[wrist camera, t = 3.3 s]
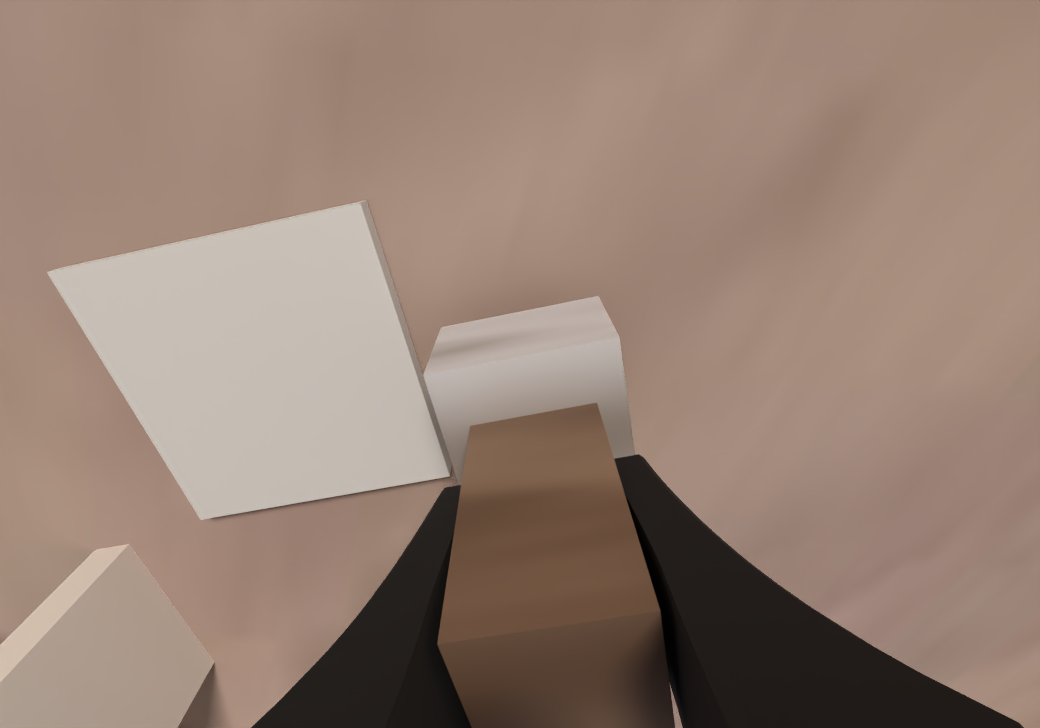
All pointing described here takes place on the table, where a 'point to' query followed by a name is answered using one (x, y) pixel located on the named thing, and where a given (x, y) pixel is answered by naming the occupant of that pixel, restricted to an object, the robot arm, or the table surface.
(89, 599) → the tile
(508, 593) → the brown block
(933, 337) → the table surface
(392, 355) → the mat
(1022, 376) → the table surface
